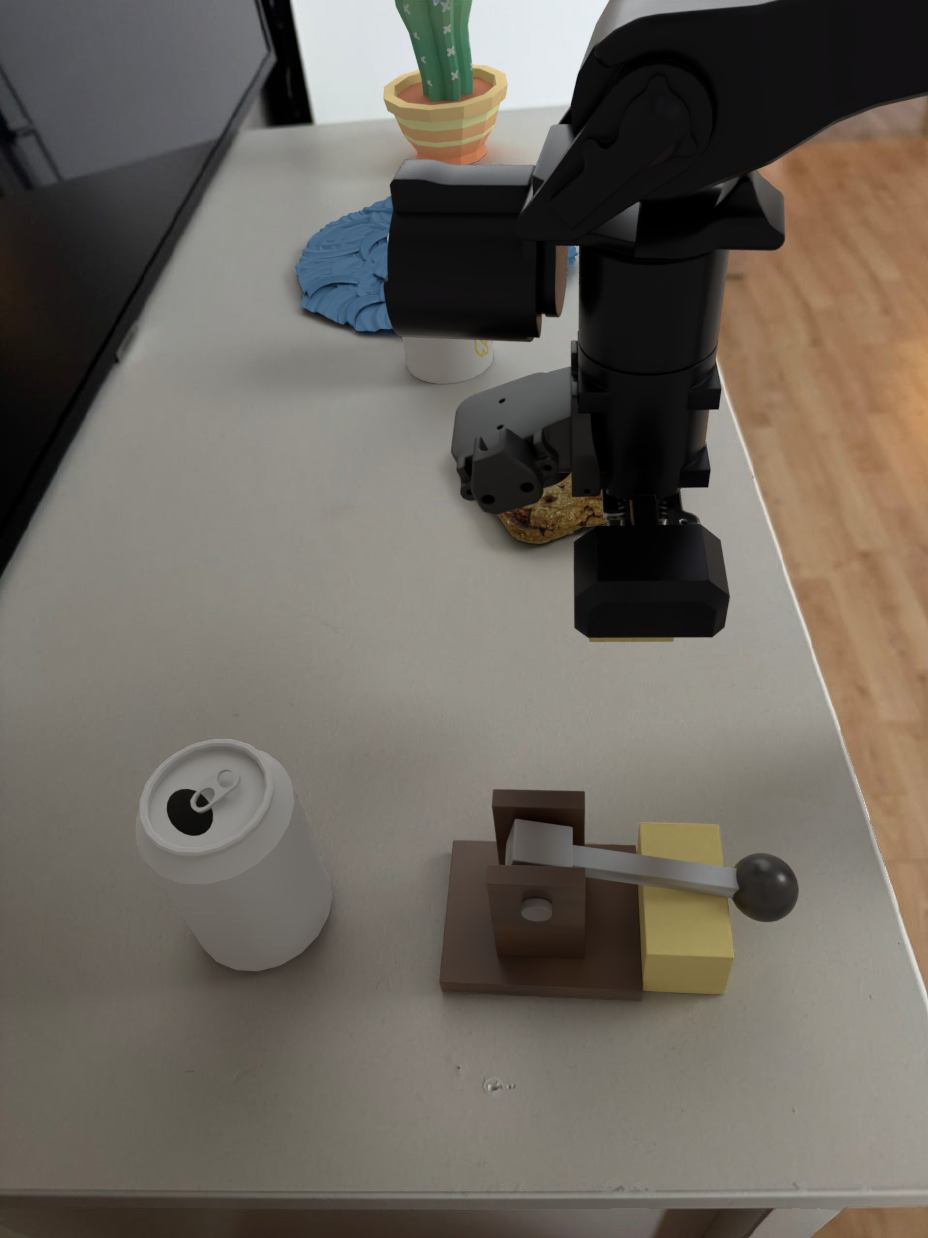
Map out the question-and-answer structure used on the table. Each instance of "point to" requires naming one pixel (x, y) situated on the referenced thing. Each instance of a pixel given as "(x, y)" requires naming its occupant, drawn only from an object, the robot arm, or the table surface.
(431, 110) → the potted cactus
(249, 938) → the can
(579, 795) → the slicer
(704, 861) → the butter
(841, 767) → the table surface
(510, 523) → the pastry
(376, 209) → the decorative plate
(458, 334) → the robot arm
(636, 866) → the blade
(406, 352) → the cup
